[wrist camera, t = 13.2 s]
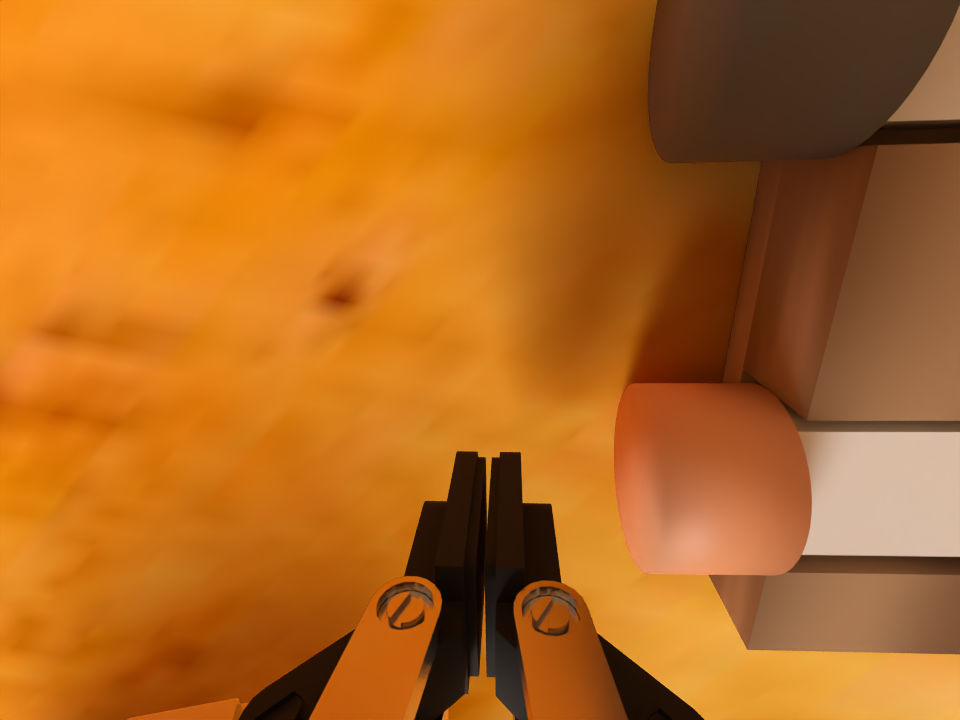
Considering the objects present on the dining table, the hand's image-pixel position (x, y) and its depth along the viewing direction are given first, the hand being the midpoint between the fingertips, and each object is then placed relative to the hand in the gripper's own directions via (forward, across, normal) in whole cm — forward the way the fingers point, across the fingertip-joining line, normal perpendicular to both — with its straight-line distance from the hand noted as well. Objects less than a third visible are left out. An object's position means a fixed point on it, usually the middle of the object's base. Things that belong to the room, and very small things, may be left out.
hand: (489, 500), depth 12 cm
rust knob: (+3, -10, -1) cm, 11 cm away
